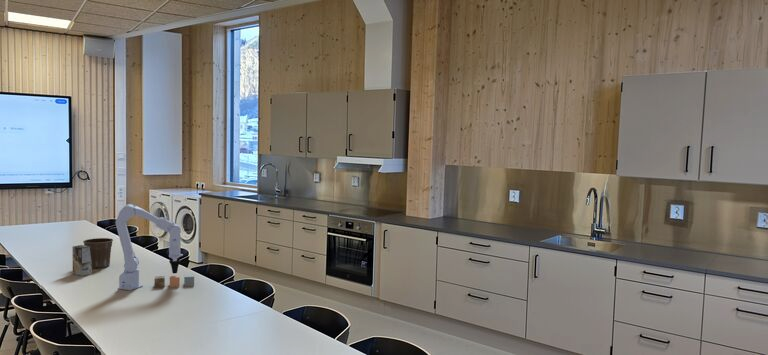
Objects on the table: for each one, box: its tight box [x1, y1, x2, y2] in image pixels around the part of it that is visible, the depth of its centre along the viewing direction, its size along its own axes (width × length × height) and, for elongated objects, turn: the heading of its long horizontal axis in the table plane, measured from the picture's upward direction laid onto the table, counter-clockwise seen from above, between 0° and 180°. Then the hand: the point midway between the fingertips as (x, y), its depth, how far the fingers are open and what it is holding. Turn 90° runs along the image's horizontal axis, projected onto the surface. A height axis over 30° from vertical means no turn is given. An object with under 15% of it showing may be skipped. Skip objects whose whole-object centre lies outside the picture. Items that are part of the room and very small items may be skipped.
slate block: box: [183, 274, 195, 287], centre depth 302 cm, size 5×5×5 cm
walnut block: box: [153, 275, 166, 289], centre depth 297 cm, size 5×5×5 cm
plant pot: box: [82, 237, 114, 269], centre depth 335 cm, size 16×16×16 cm
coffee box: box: [71, 244, 93, 277], centre depth 316 cm, size 9×6×16 cm
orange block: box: [169, 274, 181, 288], centre depth 299 cm, size 5×5×5 cm
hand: (174, 271), depth 299 cm, fingers open, 7 cm apart
